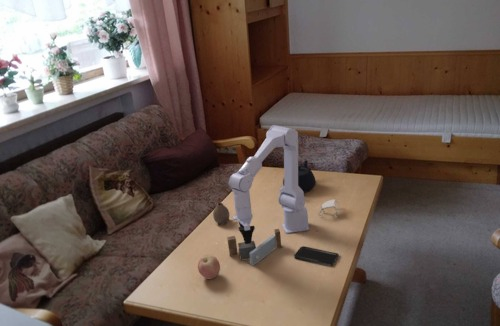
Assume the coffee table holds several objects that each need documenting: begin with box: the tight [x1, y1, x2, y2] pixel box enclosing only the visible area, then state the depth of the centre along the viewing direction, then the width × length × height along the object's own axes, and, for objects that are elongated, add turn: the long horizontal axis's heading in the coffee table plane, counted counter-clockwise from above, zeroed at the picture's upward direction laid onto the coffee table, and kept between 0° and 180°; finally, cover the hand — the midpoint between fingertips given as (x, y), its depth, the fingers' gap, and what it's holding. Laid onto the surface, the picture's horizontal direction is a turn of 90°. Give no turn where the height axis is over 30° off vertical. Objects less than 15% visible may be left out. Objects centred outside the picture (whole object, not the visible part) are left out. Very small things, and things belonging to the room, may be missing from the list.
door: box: [249, 234, 277, 266], centre depth 170 cm, size 14×2×5 cm, turn 141°
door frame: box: [226, 228, 282, 257], centre depth 174 cm, size 20×2×7 cm, turn 99°
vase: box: [212, 202, 230, 225], centre depth 196 cm, size 7×7×9 cm
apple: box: [197, 254, 221, 280], centre depth 161 cm, size 8×8×8 cm
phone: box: [293, 245, 340, 268], centre depth 167 cm, size 8×1×15 cm
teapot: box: [282, 159, 316, 194], centre depth 220 cm, size 25×16×12 cm, turn 157°
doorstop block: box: [237, 240, 257, 261], centre depth 171 cm, size 6×4×5 cm, turn 99°
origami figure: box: [317, 198, 339, 219], centre depth 195 cm, size 12×8×5 cm
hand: (246, 237), depth 169 cm, fingers open, 7 cm apart
